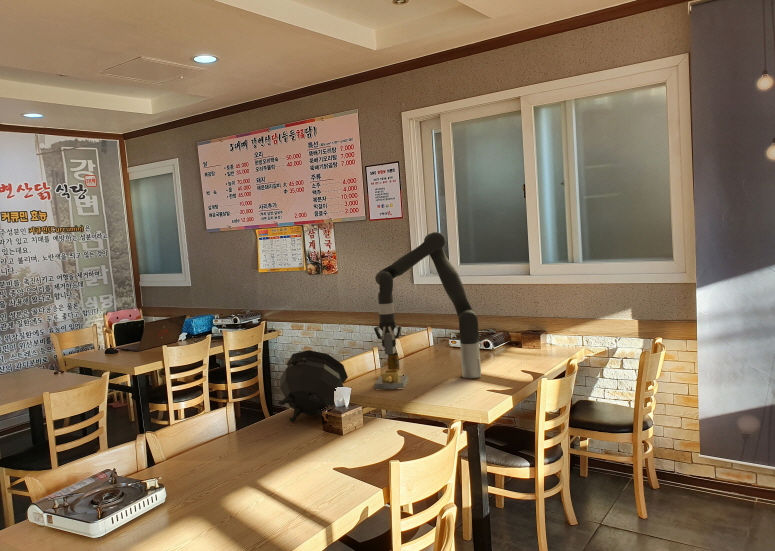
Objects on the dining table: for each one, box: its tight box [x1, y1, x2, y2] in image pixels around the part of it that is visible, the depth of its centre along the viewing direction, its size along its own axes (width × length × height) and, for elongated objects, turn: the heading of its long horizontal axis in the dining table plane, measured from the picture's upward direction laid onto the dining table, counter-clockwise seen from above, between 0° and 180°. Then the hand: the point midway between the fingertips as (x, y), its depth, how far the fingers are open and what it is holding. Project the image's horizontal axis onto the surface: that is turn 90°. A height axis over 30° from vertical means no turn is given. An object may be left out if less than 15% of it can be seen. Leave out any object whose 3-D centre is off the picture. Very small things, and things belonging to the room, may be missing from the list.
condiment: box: [387, 351, 406, 375], centre depth 305 cm, size 7×8×12 cm
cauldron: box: [277, 349, 349, 423], centre depth 245 cm, size 28×28×24 cm
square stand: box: [374, 369, 409, 390], centre depth 286 cm, size 14×14×7 cm
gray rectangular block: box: [383, 333, 395, 355], centre depth 285 cm, size 4×3×10 cm
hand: (389, 347), depth 285 cm, fingers closed on gray rectangular block, 4 cm apart
